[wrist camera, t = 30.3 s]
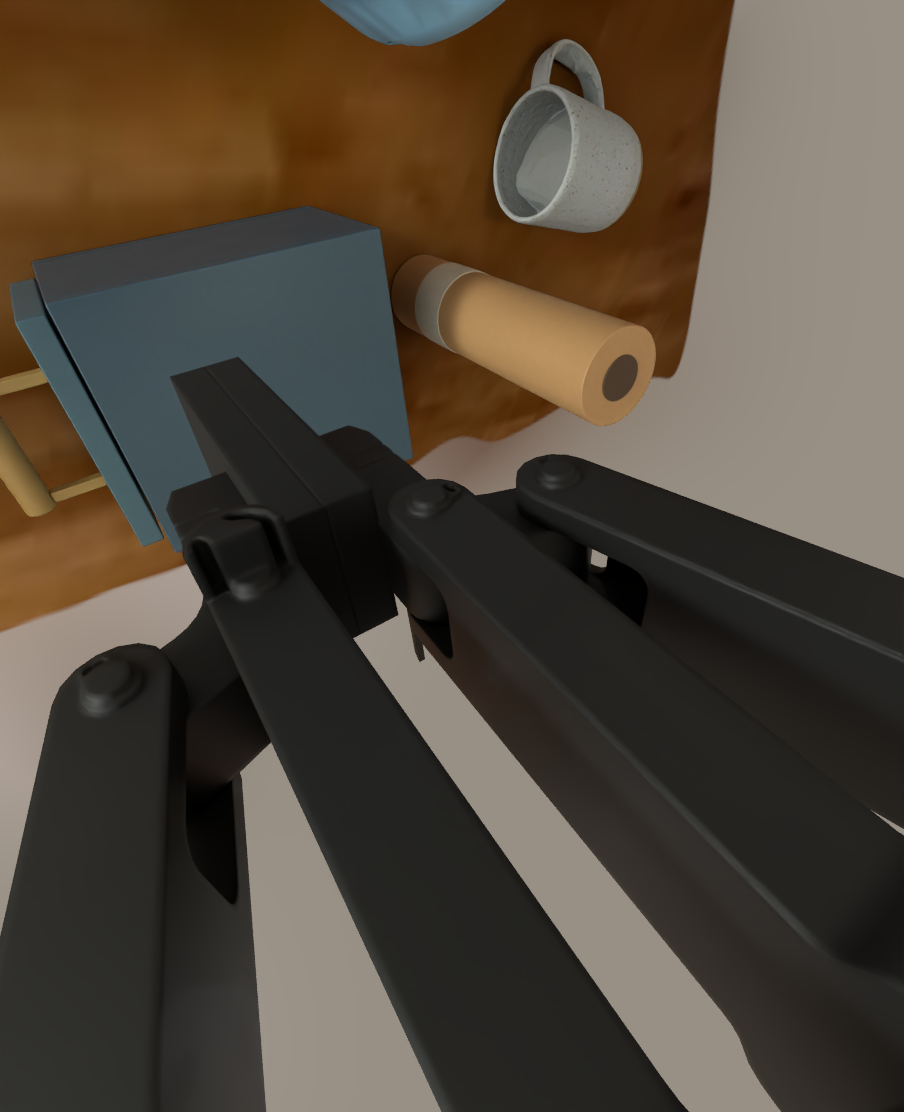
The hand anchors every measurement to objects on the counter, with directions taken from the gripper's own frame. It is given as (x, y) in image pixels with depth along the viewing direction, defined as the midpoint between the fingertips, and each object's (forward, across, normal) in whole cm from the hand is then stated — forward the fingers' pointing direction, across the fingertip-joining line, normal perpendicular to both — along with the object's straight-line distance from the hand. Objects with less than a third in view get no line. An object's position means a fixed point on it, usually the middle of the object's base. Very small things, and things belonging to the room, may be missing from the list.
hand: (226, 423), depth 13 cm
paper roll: (+26, +20, -7) cm, 34 cm away
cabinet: (+26, +5, -7) cm, 28 cm away
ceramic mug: (+27, +31, +1) cm, 41 cm away
